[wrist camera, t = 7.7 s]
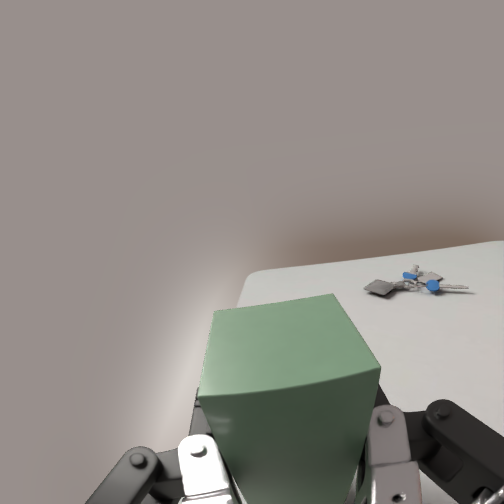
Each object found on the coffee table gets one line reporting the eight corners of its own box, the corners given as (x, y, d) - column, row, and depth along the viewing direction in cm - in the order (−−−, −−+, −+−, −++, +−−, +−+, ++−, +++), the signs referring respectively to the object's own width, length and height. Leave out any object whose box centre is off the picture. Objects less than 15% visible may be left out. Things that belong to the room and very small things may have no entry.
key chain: (364, 298, 30) (364, 292, 30) (362, 271, 38) (362, 266, 38) (468, 292, 25) (469, 285, 25) (449, 267, 33) (450, 262, 32)
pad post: (342, 508, 8) (382, 366, 5) (257, 521, 8) (196, 397, 5) (327, 451, 12) (333, 292, 9) (254, 462, 12) (213, 310, 9)
